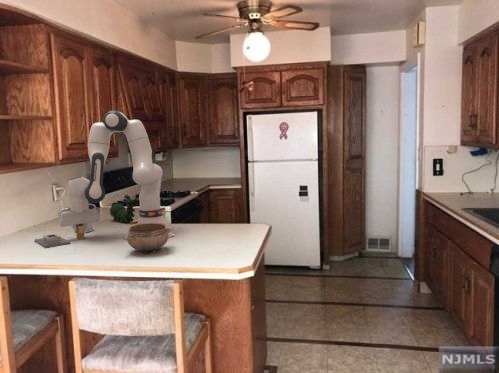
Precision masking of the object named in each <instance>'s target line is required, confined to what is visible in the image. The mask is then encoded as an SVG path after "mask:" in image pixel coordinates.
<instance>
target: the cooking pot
mask: <svg viewBox="0 0 499 373" xmlns="http://www.w3.org/2000/svg"><path fill="white" fill-rule="evenodd" d="M165 226H166V224H165V223H162V222H144V223H138V222H137V223H134V224H130V225H128V233H127V237H124V236H123V237H122V240H125V241H127V243H128V245H129V246H130V247H131V248H133V249H135V250H136V251H139V252H141V253H143V254H148V253H155V252H156V251H158V250H159V249H160V248H162V247H163V246H165V245H166V243H167V242H168V239H169V238H168V233H169V232H171V230H172V229H171V228H167V229H166V227H165ZM167 230H168V231H167ZM154 251H155V252H154Z"/></svg>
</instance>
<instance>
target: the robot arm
mask: <svg viewBox="0 0 499 373" xmlns="http://www.w3.org/2000/svg"><path fill="white" fill-rule="evenodd" d="M102 121H103V122H102ZM102 121H101V122H94V123H92V125H91V127H90V130H89V134H88V141H87V153H88V158H89V162H90V174H89V177H90V178H89V179H88V178H85V177H84V176H75V177H73V178H70V179H69V180H68V182H67V194H68V195H67V196H68V198H69V199H68V207H67V208H61V209H59V211H58V214H57V215H58V225H59V226H60V227H69V226H70V227H72V229H73V230H74V231H73V232H74V234H76V233H78V229H76V228H75V227H76V225H77V224H83V225H84V232H85V231H86V230H85V228H86V227H87V223H90V222H93V223H95V222H98V221H99V218H100V217H99V211H98V210H97V206H96V204H98V203H100V202H102V201H103V200H104V199H105V197H106V190H105V187H104V184H103V183H104V182H103V180H104V170H105V169H104V167H105V164H106V161H107V158H108V154H109V150H110V144H111V142H110V141H111V137H112V135H113V134H120V133H123V134H124V135H125V136H126V140H127V145H128V148H129V151H130V154H131V158H132V168H133V171H132V180H133V182H134V183H136V184H137V185H139V186H140V185H141V187H140V192H139V195H138V199H139V202H138V203H139V211H138V215H139V219H138V220H137V223H144V222H162V223H165V224H166V226H165V227H166V229H167V228H170V227H171V225H170V222H168V221H167V220H166V219H165V218H164V216H163V210H162V208H161V196H160V195H161V185H162V177H163V175H164V174H163V173H164V172H163V171H164V170H163V169H162V166H160V165H158V164H156V163H153V158H152V157H153V156H152V155H153V154H152V153H153V150H152V145H151V143H150V139H149V135H148V133H147V131H146V128H145V125H144V124H143V122H142V121H141V120H140V119H129V118H128V116H127V115H126V114H125V113H122V112H121V111H118V110H115V109H114V110H112V109H111V110H109V111H107V112H106V113H105V114H104V115H103V117H102ZM87 201H88V202H87ZM170 229H171V228H170ZM167 231H168V230H167ZM174 235H175V233H173V232H171V231H170V232H169V233H168V239H169V237H170V238H173V237H175V236H174ZM172 236H173V237H172Z"/></svg>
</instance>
